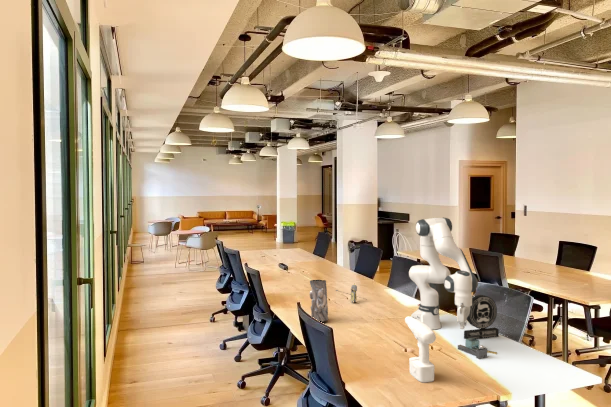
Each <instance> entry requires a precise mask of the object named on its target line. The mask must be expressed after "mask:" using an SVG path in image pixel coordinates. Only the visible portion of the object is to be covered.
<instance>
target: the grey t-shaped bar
mask: <svg viewBox="0 0 611 407" xmlns="http://www.w3.org/2000/svg"><path fill="white" fill-rule="evenodd" d="M457 350H459V351H462V352H464V353H466V354H469V355H472V356H473V357H474V356H475V358H476V359H478V360H481V359H482V360H483V359H485V358H488V353H487V350H488V348H486V347H484V345H483V344H481V345H480V344H479V349H477V348H475V349H474V348H472V349H471V348H468V347H466V345H463V344H457Z"/></svg>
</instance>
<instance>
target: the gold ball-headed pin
mask: <svg viewBox="0 0 611 407" xmlns="http://www.w3.org/2000/svg"><path fill="white" fill-rule="evenodd" d="M487 354H494V355H497V354H498V352H497V351H492V350H488V349H487Z"/></svg>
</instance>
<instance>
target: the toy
mask: <svg viewBox="0 0 611 407" xmlns="http://www.w3.org/2000/svg"><path fill="white" fill-rule="evenodd" d="M335 291H336V292H340V293H344V294H346V295H347V294H348V295H350V301H351V303H353V301H354V302H356V303H357V300H358V299H357V298H360V299H364V300H366V298H364V297H361V296H359V295H357V291H358V286H357V285H356V284H355V283H354V284H351V288H350V293H348V292H345V291H341V290H338V289H335Z"/></svg>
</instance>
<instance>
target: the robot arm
mask: <svg viewBox="0 0 611 407" xmlns="http://www.w3.org/2000/svg"><path fill="white" fill-rule="evenodd" d="M452 230H453V223H452V221H451V219H450V218H448V217H431V218H426V219H425V218H423V219H422V218H421V219H418V220H417V222H416V223H415V232H416V234H417V235H418V236H419V255H420V257H421V259H423V260H424V261H426V262H427V263H428V265H425V264H424V265H421V264H417V265H412V266H411V267H410V269H409V271H408V278H409V279H410V280H411V281H412V282H413V283H415V285H416V286H417V288H418V291H419V296H420V303H418V304H417V307H418V308H417V310H415V311H414V312H412V314H410V315H411V316H410V317H413V318H414V319H417V320H418V321H420V322H423V323H424V324H426V325H427V326H428V327H429V328H430V329H431V330H439V329H441V328H442V324H441V317H440V304H439V292H438V291H437V290H436V288H433V287H431V286H430V284H436V285H437V284H439V285H440V284H443V285H444V286H443V287H444V289H445V290H446V291H447V292H448V293H454V305H455V306H456V308H457V311H456V321H457V323H459V327H460V330H465V326H467V322H468V320H467V317H468V316H469V313H470V306H472V298H473V294H472V293H474V292H475V291H476V290H477V288H478V286H479V281H478V279H477V277H476V275H475V274H474V272H473V271H472V268H471V266H470V264H469V262H468V260H467V257H466V255H465V252H464V251H463V250H462V248H460V247H458V245H457V243H455V242H456V241H455V239H454V237H453V234H452ZM439 254H440V255H441V256H443V257H446V258H450V259H452V260H453V261H455V262H456V263H457V265H458V267H459V269H460V270H457V271H456V272H455V273H453V274H451V271H450V270H449V268H448V267H447V266H446V265H444V264H443V262H442V261H441V259H440V255H439Z"/></svg>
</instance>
